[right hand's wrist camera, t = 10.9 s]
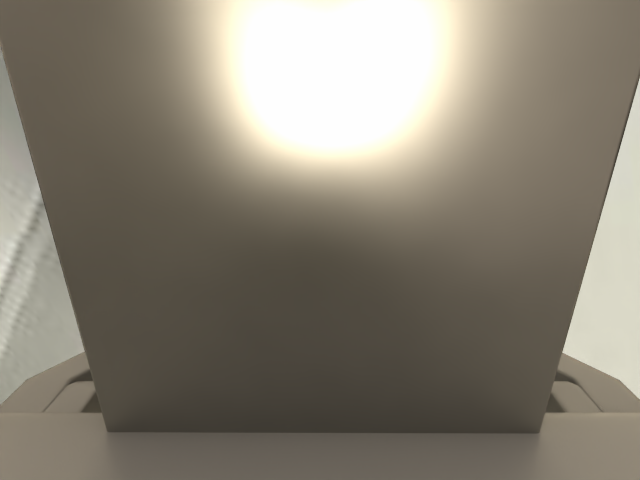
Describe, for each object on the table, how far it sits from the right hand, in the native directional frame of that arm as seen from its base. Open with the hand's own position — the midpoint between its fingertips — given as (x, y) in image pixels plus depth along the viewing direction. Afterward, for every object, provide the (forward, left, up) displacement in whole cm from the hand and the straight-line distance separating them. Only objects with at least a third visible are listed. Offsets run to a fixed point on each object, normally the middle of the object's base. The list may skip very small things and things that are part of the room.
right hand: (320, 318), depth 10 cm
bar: (+1, +9, -4) cm, 10 cm away
